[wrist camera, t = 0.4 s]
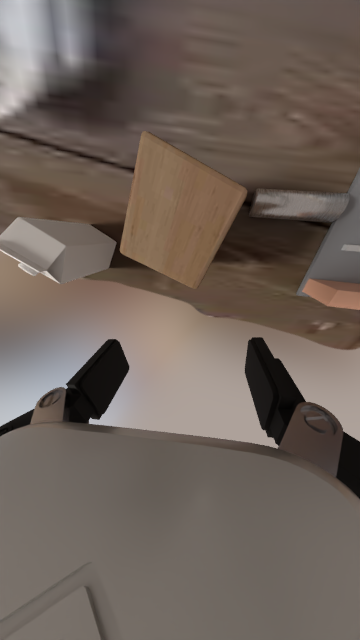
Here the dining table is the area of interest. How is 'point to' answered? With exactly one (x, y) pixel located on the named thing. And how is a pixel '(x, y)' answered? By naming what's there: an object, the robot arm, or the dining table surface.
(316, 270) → the roller bed
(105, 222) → the dining table surface
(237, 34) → the dining table surface
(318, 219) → the roller
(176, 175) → the wooden block
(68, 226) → the milk carton
